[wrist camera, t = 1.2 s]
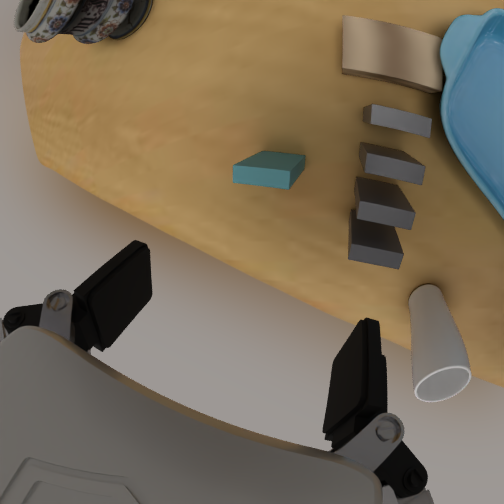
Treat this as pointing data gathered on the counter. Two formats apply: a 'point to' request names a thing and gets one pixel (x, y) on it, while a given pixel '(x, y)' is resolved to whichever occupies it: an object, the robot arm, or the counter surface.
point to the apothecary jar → (80, 18)
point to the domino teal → (269, 169)
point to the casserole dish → (476, 99)
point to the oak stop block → (391, 54)
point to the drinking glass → (436, 347)
